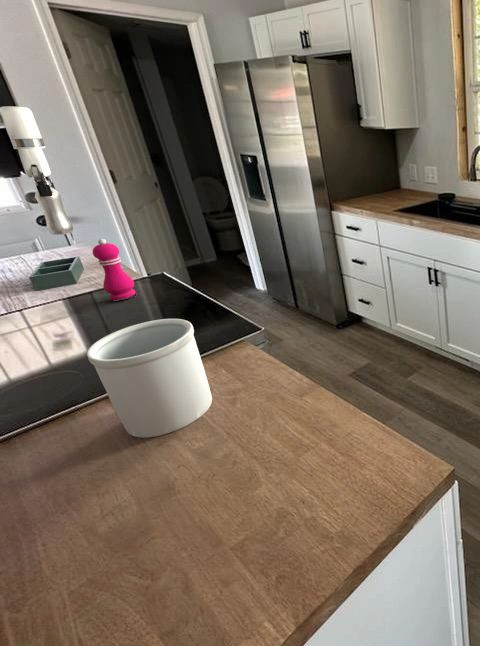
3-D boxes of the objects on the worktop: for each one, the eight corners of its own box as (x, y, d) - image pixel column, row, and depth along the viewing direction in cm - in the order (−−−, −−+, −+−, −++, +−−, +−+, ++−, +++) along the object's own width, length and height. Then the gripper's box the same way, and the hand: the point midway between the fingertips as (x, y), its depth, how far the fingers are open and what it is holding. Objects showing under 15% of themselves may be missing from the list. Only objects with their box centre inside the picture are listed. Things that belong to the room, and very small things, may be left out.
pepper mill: (108, 298, 134) (84, 239, 126) (137, 291, 138) (116, 234, 131) (109, 304, 129) (84, 244, 122) (139, 297, 134) (117, 238, 126)
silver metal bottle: (45, 236, 153) (23, 182, 146) (67, 231, 160) (47, 179, 153) (58, 237, 152) (36, 182, 145) (79, 232, 158) (59, 179, 151)
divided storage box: (35, 291, 140) (28, 277, 138) (46, 274, 154) (41, 262, 152) (76, 283, 145) (71, 270, 144) (84, 268, 160) (79, 256, 158)
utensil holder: (226, 411, 82) (201, 335, 76) (129, 454, 72) (90, 370, 66) (205, 381, 92) (181, 311, 85) (117, 416, 81) (82, 339, 75)
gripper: (18, 143, 149) (38, 192, 155) (6, 145, 136) (28, 199, 142) (48, 142, 153) (67, 190, 159) (39, 145, 140) (59, 197, 147)
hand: (48, 194), depth 151 cm, fingers closed on silver metal bottle, 6 cm apart
